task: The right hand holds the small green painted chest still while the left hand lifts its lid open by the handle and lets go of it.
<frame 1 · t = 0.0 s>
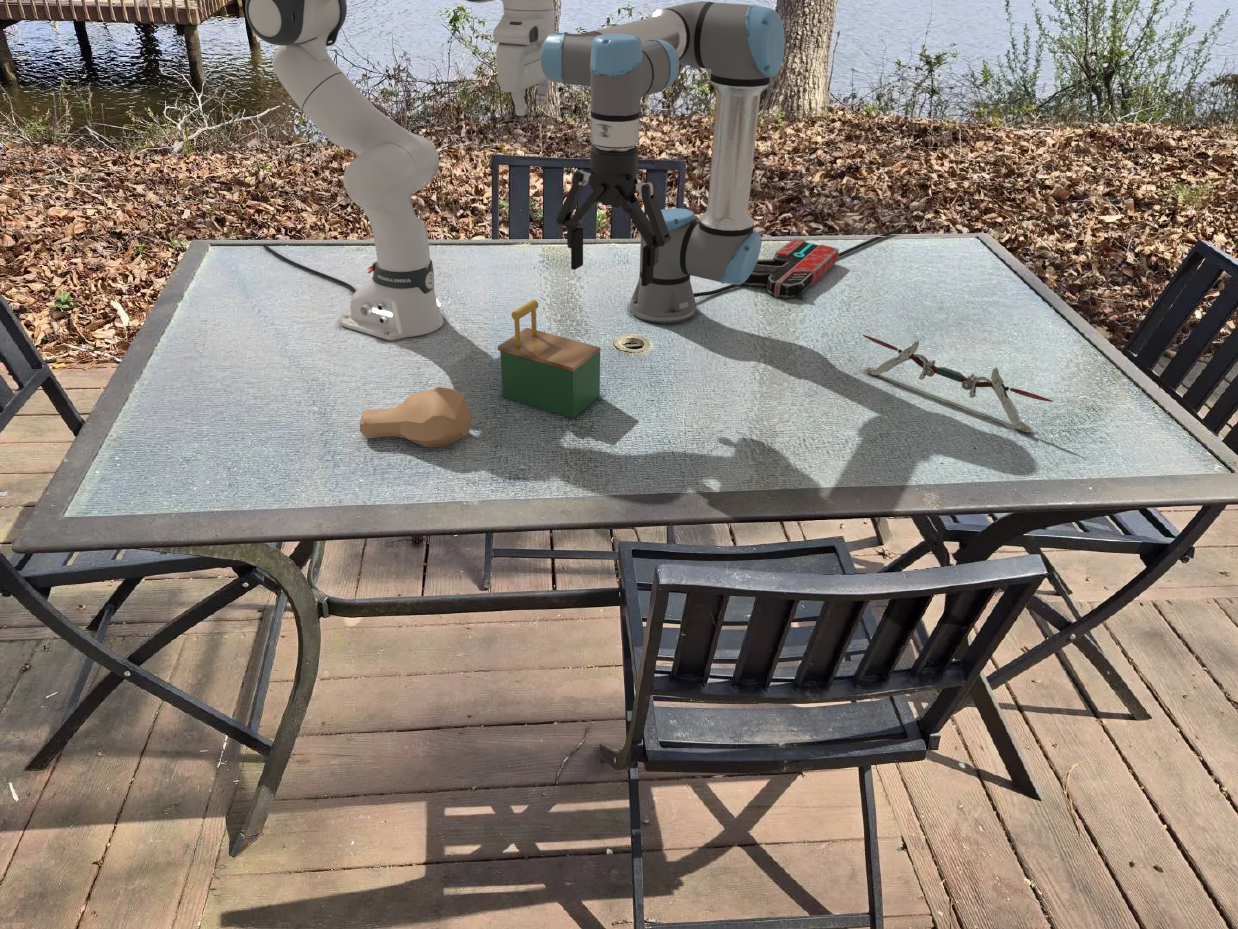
left hand: (531, 109, 161), 48 cm above the table, tool pointing down, fingers open, 8 cm apart
right hand: (611, 275, 148), 28 cm above the table, tool pointing down, fingers open, 13 cm apart
bow: (943, 400, 172), on the table
squash: (418, 438, 156), on the table
chest: (551, 396, 170), on the table
gun: (785, 274, 226), on the table
lid: (548, 331, 162), point 14 cm above the table, hinge at 0.0°
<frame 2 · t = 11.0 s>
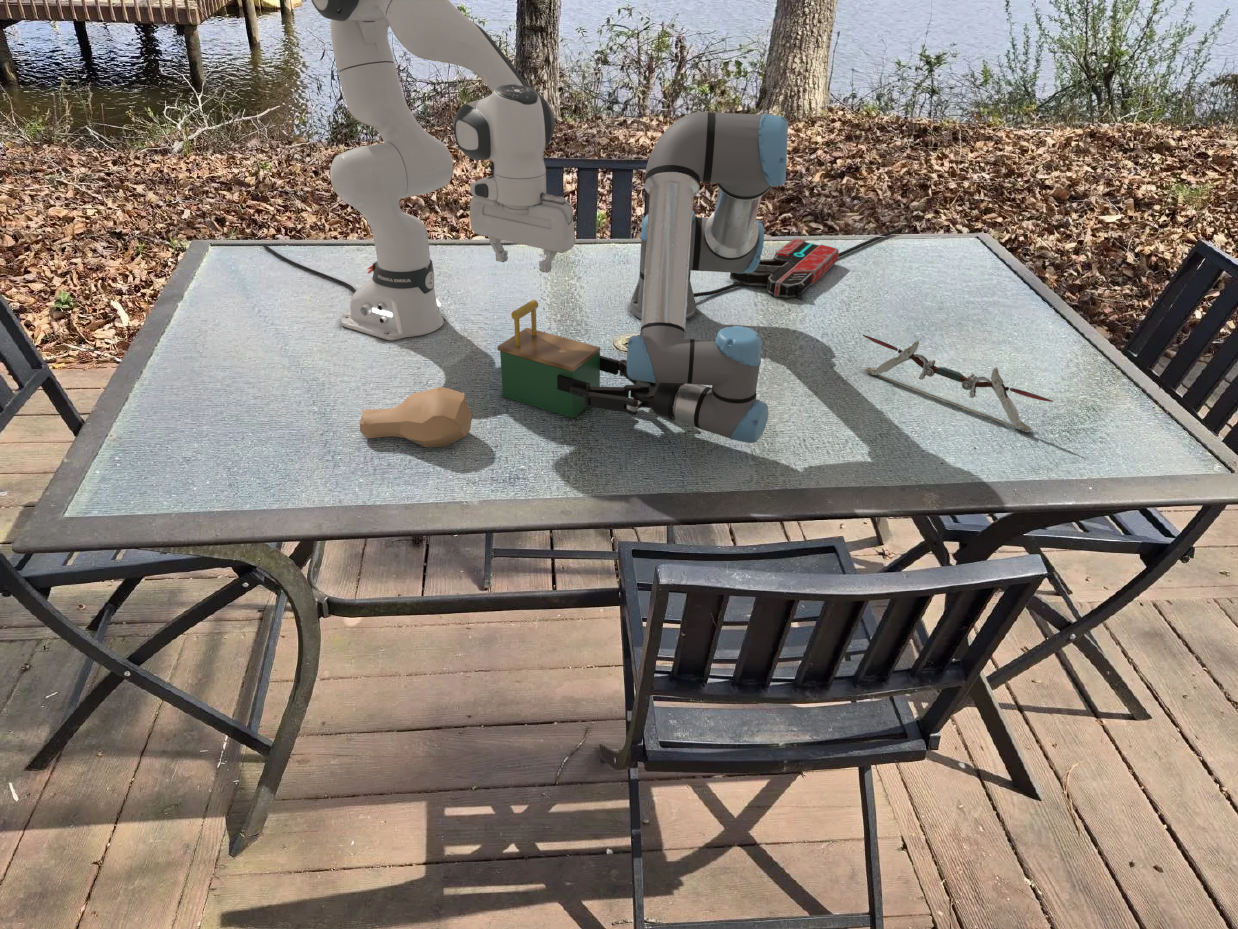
left hand: (523, 266, 158), 25 cm above the table, tool pointing down, fingers open, 8 cm apart
right hand: (573, 370, 164), 7 cm above the table, tool horizontal, fingers closed on chest, 10 cm apart
chest: (551, 396, 170), on the table, touching right hand
everything else where it was.
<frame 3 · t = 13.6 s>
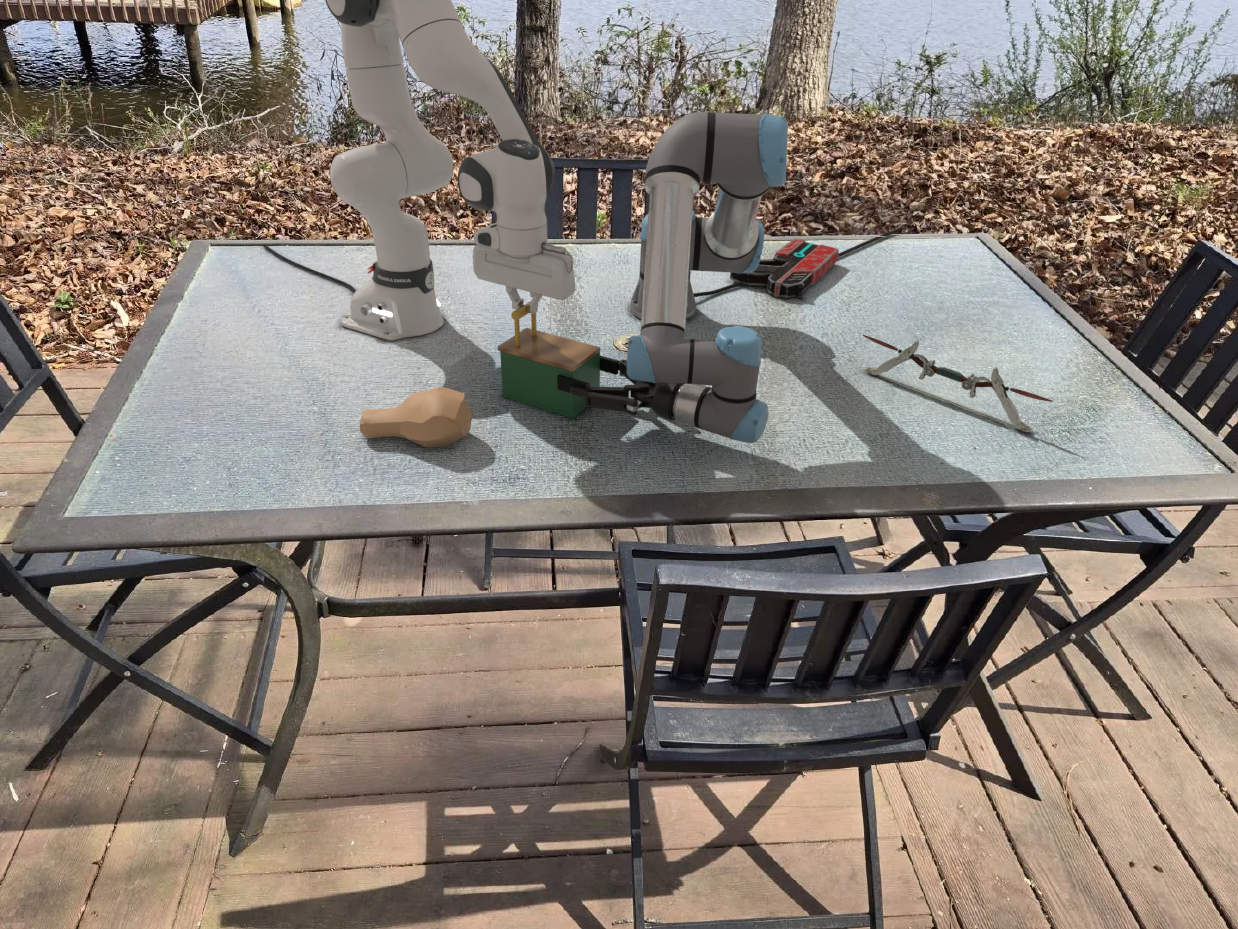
left hand: (524, 310, 163), 17 cm above the table, tool pointing down, fingers closed on lid, 2 cm apart
right hand: (573, 370, 164), 7 cm above the table, tool horizontal, fingers closed on chest, 10 cm apart
chest: (551, 396, 170), on the table, touching right hand
lid: (548, 331, 162), point 14 cm above the table, hinge at -0.1°, touching left hand
everything else where it was.
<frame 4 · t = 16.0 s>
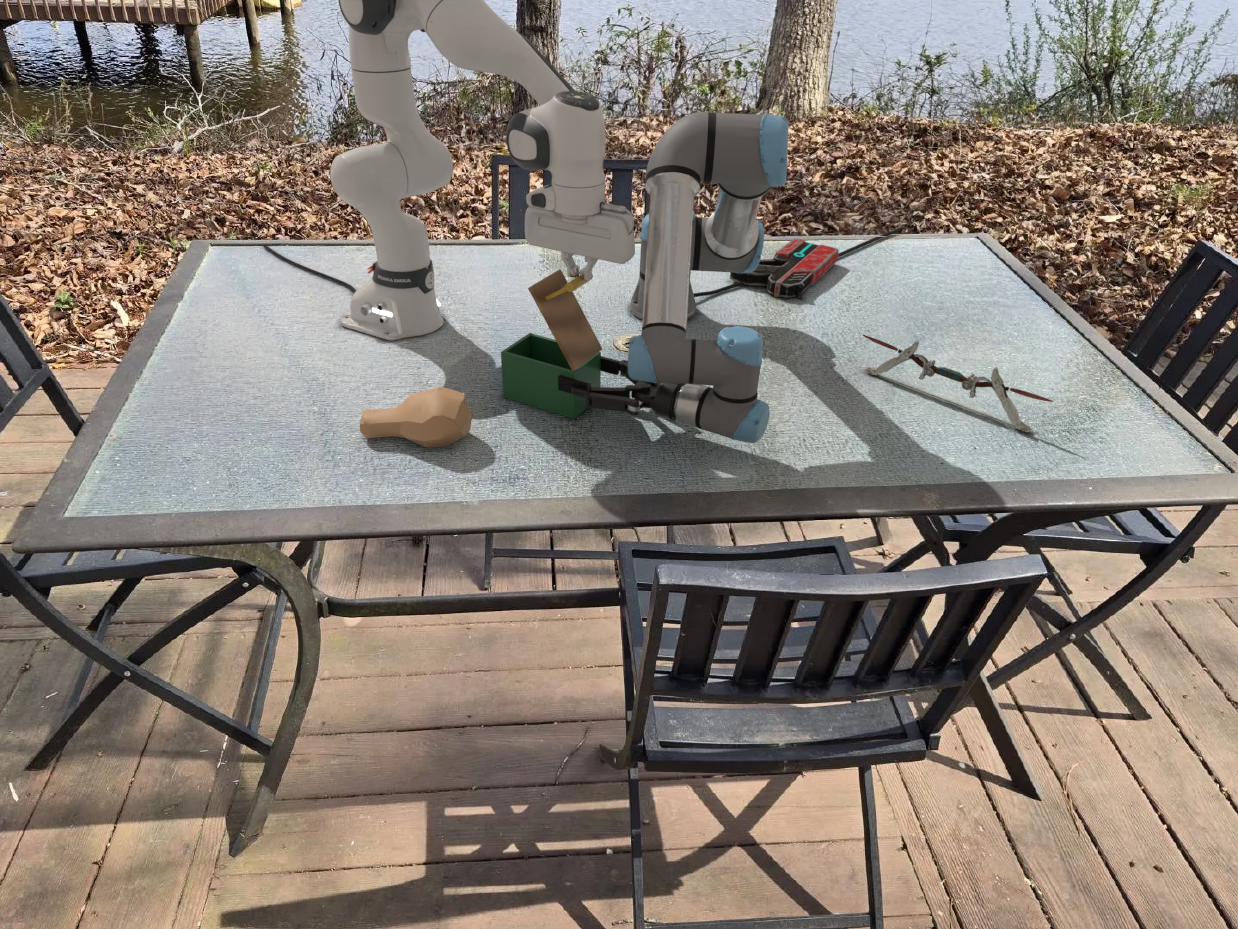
left hand: (579, 277, 153), 26 cm above the table, tool pointing down, fingers closed, pressing on lid
right hand: (574, 370, 164), 7 cm above the table, tool horizontal, fingers closed on chest, 10 cm apart
chest: (551, 396, 170), on the table, touching right hand
lid: (580, 313, 157), point 19 cm above the table, hinge at 56.7°, touching left hand
everything else where it was.
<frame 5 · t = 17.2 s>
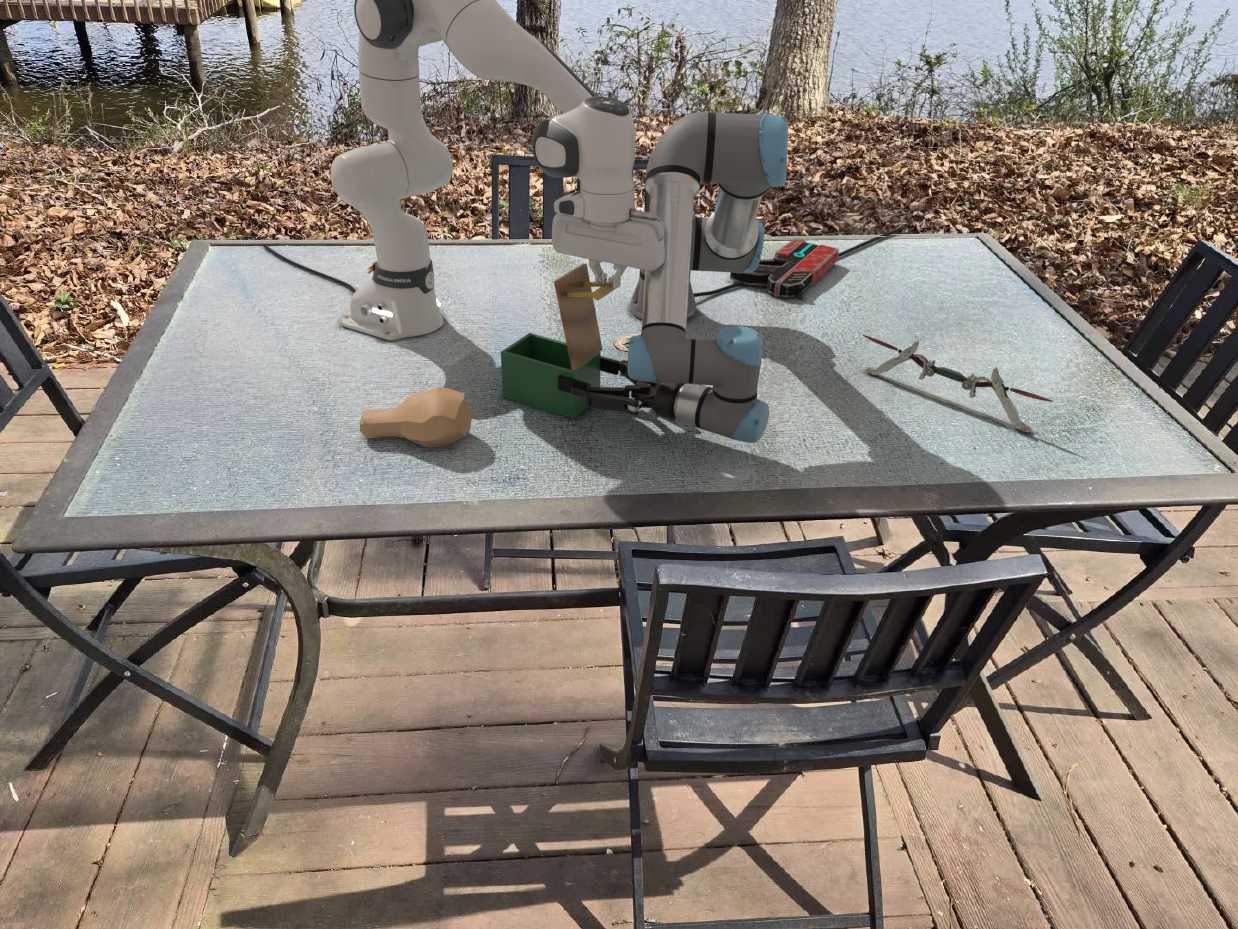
left hand: (607, 285, 151), 25 cm above the table, tool pointing down, fingers closed
right hand: (573, 370, 164), 7 cm above the table, tool horizontal, fingers closed on chest, 10 cm apart
chest: (551, 396, 170), on the table, touching right hand
lid: (596, 317, 155), point 19 cm above the table, hinge at 77.5°, touching left hand
everything else where it was.
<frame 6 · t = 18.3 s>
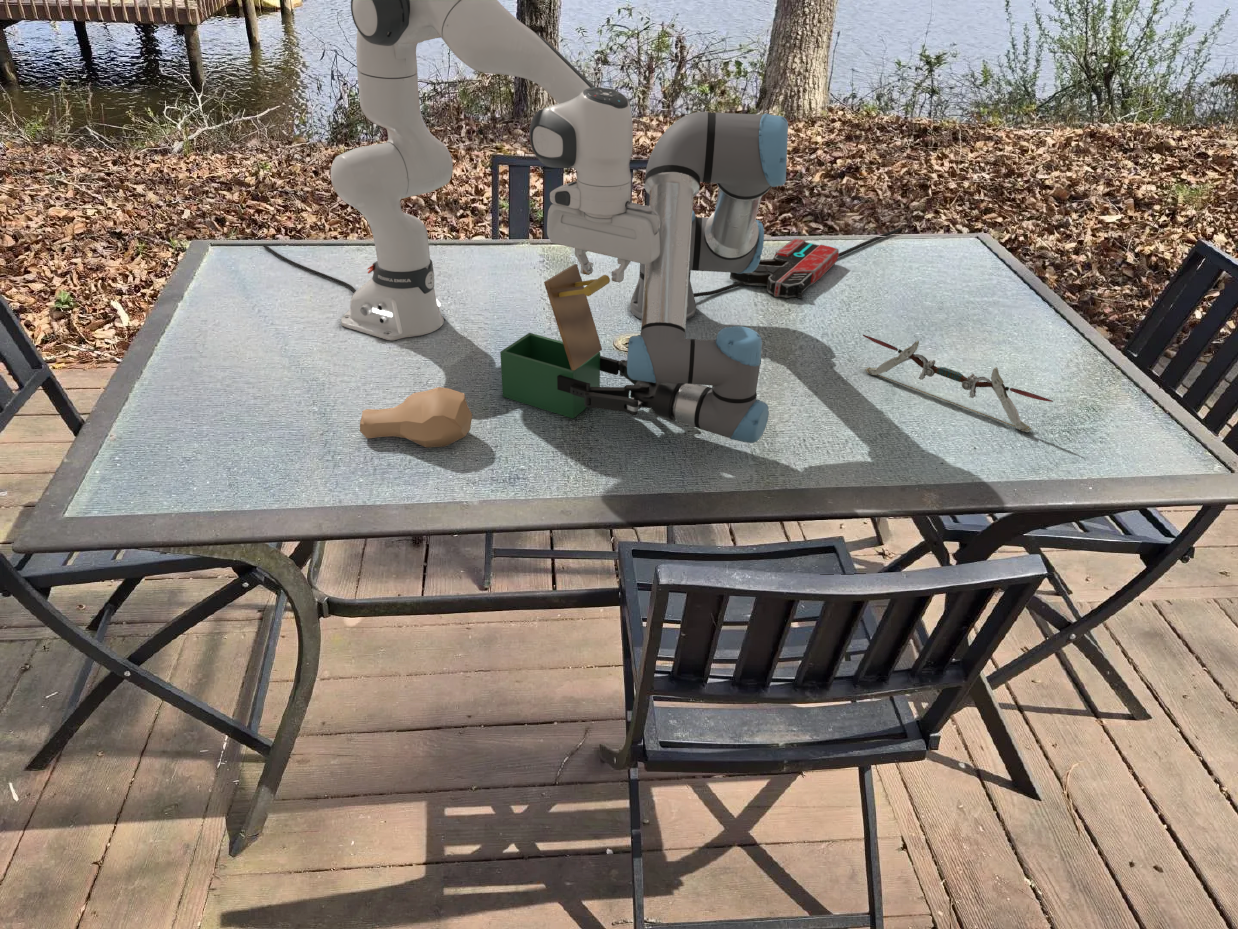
left hand: (602, 277, 151), 27 cm above the table, tool pointing down, fingers open, 5 cm apart
right hand: (573, 370, 164), 7 cm above the table, tool horizontal, fingers closed on chest, 10 cm apart
chest: (551, 396, 170), on the table, touching right hand
lid: (590, 315, 156), point 19 cm above the table, hinge at 70.5°
everything else where it was.
when the right hand's fingers open (7 cm above the table, at t = 21.5 s): chest stays where it is, on the table.
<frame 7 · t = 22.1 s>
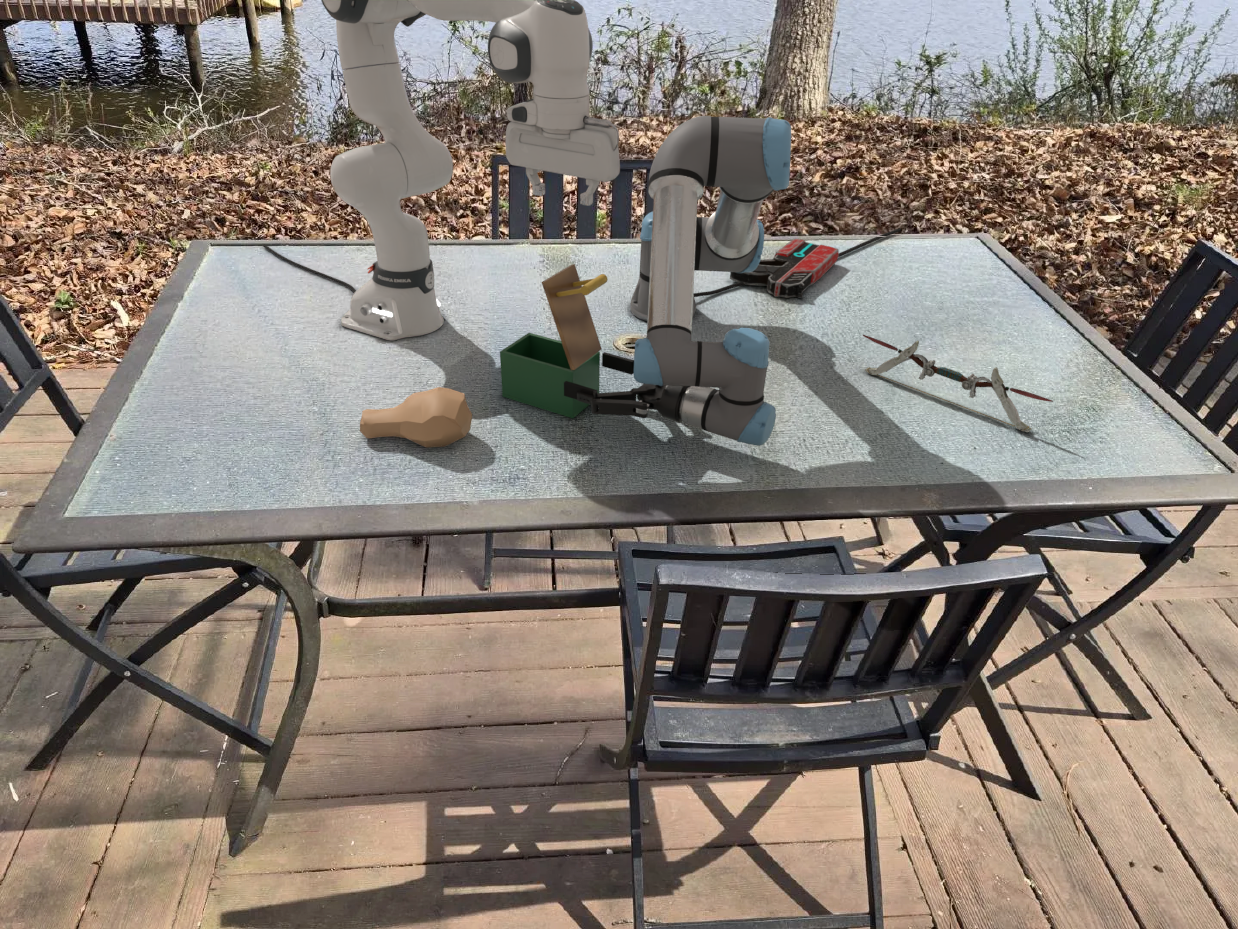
left hand: (562, 199, 147), 39 cm above the table, tool pointing down, fingers open, 8 cm apart
right hand: (584, 373, 163), 7 cm above the table, tool horizontal, fingers open, 13 cm apart
chest: (550, 396, 170), on the table
lid: (588, 314, 156), point 19 cm above the table, hinge at 69.2°
everything else where it was.
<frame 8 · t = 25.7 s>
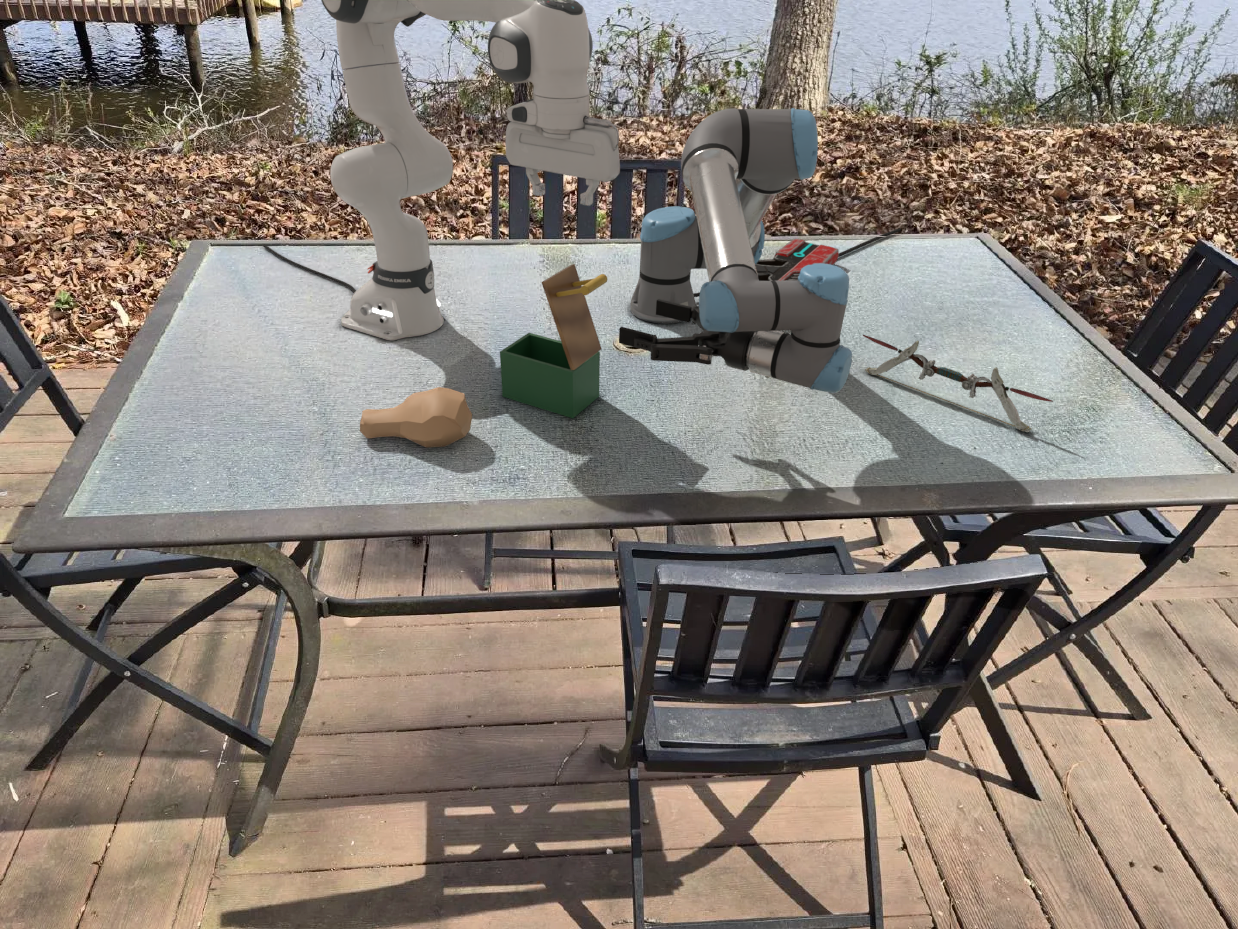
left hand: (562, 199, 147), 39 cm above the table, tool pointing down, fingers open, 8 cm apart
right hand: (639, 320, 151), 20 cm above the table, tool horizontal, fingers open, 13 cm apart
nothing on the table moved.
at the end: lid at +69° (first picture: +0°); the left hand is holding nothing; the right hand is holding nothing; chest tilted 0°; chest never tilted more than 1° during the clip; chest moved 0.1 cm from its start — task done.
